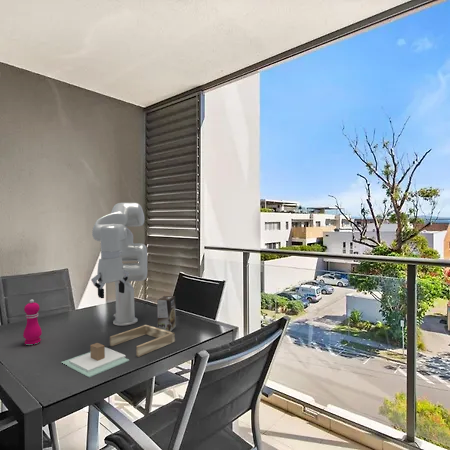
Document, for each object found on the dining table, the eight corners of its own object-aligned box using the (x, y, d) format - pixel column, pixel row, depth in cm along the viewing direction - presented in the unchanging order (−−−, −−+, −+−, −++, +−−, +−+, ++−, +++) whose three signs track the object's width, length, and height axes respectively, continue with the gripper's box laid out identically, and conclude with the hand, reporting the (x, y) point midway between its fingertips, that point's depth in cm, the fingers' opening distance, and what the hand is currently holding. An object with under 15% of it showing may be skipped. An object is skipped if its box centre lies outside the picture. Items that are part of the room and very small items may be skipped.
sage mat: (61, 363, 130) (61, 362, 130) (100, 348, 143) (100, 348, 143) (89, 377, 118) (89, 376, 118) (129, 360, 131) (129, 359, 131)
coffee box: (169, 333, 162) (169, 300, 161) (157, 332, 163) (156, 299, 163) (176, 327, 171) (175, 295, 170) (164, 326, 172) (163, 295, 172)
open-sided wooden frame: (109, 345, 147) (109, 336, 147) (146, 332, 163) (145, 324, 163) (138, 356, 135) (138, 347, 135) (174, 341, 151) (174, 333, 151)
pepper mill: (45, 341, 153) (44, 298, 153) (31, 347, 146) (30, 301, 146) (33, 339, 155) (32, 296, 155) (19, 345, 149) (18, 300, 148)
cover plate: (68, 362, 129) (68, 347, 129) (105, 349, 142) (105, 335, 142) (88, 372, 121) (88, 356, 121) (125, 357, 134) (125, 342, 133)
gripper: (123, 251, 149) (123, 289, 150) (86, 256, 136) (87, 298, 137) (133, 253, 144) (134, 292, 146) (96, 258, 131) (97, 301, 132)
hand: (111, 295), depth 141 cm, fingers open, 9 cm apart
